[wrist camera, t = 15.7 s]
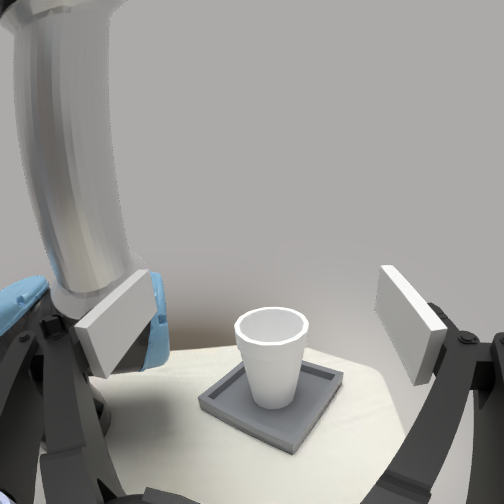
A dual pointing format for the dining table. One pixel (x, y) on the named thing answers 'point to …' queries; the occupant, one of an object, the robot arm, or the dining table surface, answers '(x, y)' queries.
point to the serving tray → (273, 420)
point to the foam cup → (272, 353)
